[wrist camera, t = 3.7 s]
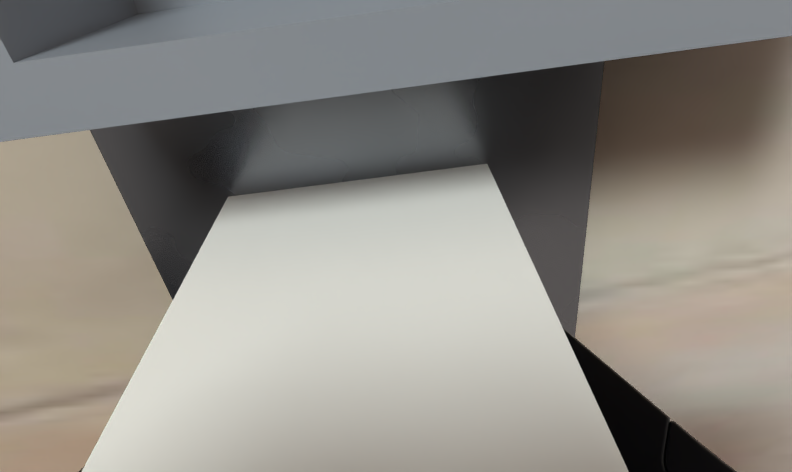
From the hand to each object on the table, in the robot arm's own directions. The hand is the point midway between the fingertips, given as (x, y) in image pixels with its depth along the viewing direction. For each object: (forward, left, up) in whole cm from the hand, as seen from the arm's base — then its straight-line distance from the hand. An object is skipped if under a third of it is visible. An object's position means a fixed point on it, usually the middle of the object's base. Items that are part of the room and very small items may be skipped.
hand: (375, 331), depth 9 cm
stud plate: (0, 0, -2) cm, 2 cm away
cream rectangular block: (0, 0, -2) cm, 2 cm away
